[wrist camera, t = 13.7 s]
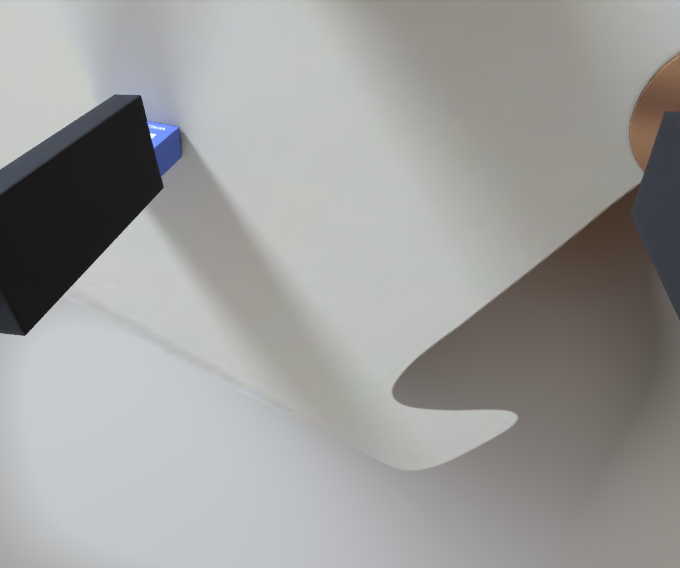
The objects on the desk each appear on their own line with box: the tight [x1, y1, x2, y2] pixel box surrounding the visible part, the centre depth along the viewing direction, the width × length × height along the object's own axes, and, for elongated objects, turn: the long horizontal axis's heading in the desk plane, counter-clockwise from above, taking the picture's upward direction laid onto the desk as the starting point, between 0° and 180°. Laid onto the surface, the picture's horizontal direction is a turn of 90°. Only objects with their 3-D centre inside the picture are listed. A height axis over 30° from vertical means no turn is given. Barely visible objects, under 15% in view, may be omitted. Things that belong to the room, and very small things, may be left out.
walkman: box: [147, 121, 181, 176], centre depth 42 cm, size 8×3×12 cm, turn 84°
